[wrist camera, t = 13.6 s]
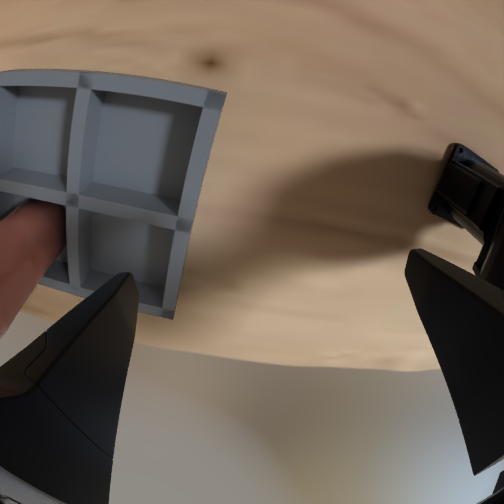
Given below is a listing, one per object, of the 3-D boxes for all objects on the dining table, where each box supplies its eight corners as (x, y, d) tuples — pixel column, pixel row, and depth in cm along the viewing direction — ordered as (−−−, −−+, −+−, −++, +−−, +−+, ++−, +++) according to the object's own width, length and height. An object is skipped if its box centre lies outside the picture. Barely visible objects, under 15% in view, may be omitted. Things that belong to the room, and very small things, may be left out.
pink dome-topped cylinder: (44, 180, 19) (-67, 279, 8) (83, 232, 22) (0, 356, 11) (13, 215, 21) (-78, 311, 9) (48, 260, 23) (-24, 371, 12)
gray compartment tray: (227, 92, 18) (225, 94, 15) (178, 295, 26) (172, 319, 24) (16, 69, 15) (-8, 72, 12) (15, 252, 23) (0, 270, 21)
